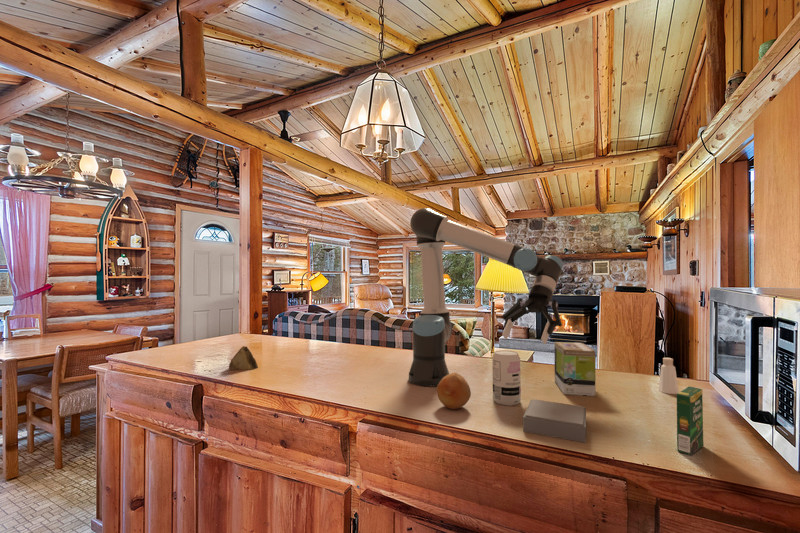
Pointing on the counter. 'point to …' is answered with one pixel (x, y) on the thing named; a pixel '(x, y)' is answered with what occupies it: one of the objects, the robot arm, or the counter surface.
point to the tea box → (575, 368)
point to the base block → (555, 420)
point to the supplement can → (506, 378)
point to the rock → (243, 360)
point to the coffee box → (689, 420)
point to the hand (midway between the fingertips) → (523, 338)
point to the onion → (453, 391)
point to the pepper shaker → (668, 377)
